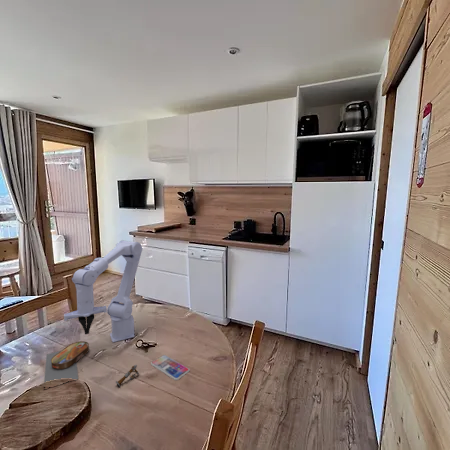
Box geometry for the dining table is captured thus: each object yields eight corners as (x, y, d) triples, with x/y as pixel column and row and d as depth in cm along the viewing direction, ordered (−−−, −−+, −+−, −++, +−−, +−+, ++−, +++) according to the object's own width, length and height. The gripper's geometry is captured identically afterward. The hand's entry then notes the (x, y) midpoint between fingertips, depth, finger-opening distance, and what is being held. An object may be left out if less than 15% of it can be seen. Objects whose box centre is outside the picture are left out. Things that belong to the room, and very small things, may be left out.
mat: (75, 347, 110) (75, 347, 109) (78, 379, 91) (78, 378, 91) (46, 355, 104) (46, 354, 104) (43, 390, 86) (43, 389, 86)
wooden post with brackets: (142, 372, 94) (137, 364, 92) (123, 392, 89) (117, 384, 87) (139, 370, 95) (134, 362, 93) (120, 389, 90) (115, 381, 88)
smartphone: (164, 353, 106) (191, 369, 97) (164, 356, 106) (191, 371, 97) (149, 362, 100) (176, 379, 91) (149, 365, 100) (176, 382, 91)
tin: (64, 365, 94) (45, 360, 95) (64, 373, 94) (45, 368, 96) (93, 342, 109) (76, 338, 110) (93, 349, 109) (75, 345, 110)
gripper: (63, 307, 93) (65, 343, 95) (107, 299, 101) (108, 332, 103) (63, 300, 99) (65, 334, 101) (104, 293, 107) (105, 324, 108)
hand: (86, 333), depth 102 cm, fingers closed
